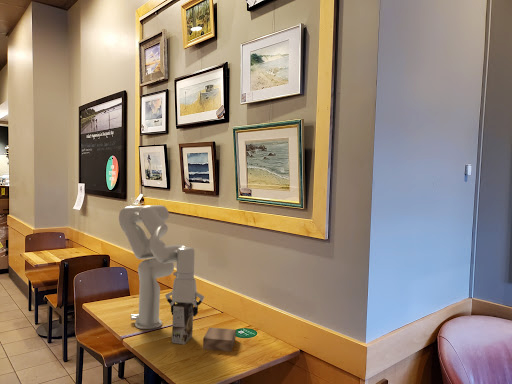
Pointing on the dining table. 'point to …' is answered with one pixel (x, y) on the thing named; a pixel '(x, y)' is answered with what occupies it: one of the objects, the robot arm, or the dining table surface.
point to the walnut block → (219, 339)
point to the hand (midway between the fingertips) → (184, 314)
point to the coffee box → (182, 322)
